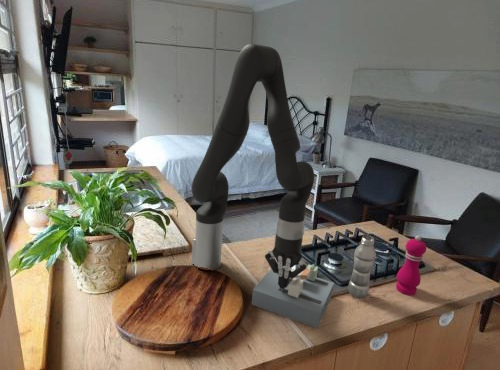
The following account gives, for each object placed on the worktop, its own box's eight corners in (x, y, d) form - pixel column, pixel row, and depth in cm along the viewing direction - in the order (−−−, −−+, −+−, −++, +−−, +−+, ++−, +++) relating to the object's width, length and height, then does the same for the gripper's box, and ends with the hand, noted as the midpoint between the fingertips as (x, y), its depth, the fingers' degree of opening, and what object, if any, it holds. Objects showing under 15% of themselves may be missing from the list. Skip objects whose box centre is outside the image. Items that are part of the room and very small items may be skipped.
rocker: (279, 279, 108) (278, 275, 108) (284, 272, 112) (283, 268, 112) (307, 279, 104) (306, 275, 104) (311, 272, 108) (311, 268, 108)
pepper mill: (390, 289, 118) (403, 234, 112) (399, 281, 123) (411, 228, 117) (412, 299, 114) (427, 242, 108) (420, 290, 119) (434, 236, 113)
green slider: (304, 278, 110) (306, 266, 109) (307, 274, 112) (309, 262, 111) (314, 281, 109) (315, 269, 108) (316, 277, 111) (318, 265, 110)
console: (251, 304, 104) (253, 285, 102) (273, 277, 119) (274, 261, 117) (317, 328, 96) (320, 308, 95) (331, 296, 111) (334, 278, 110)
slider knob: (287, 294, 101) (289, 281, 100) (292, 287, 104) (293, 275, 103) (297, 297, 100) (299, 285, 99) (302, 290, 103) (303, 278, 102)
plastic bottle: (345, 297, 111) (356, 240, 105) (347, 286, 117) (358, 231, 112) (367, 303, 109) (379, 245, 103) (368, 292, 115) (379, 236, 110)
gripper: (262, 231, 98) (257, 286, 103) (308, 244, 92) (300, 301, 97) (272, 222, 104) (267, 274, 109) (316, 233, 99) (308, 287, 104)
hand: (283, 287), depth 103 cm, fingers closed
